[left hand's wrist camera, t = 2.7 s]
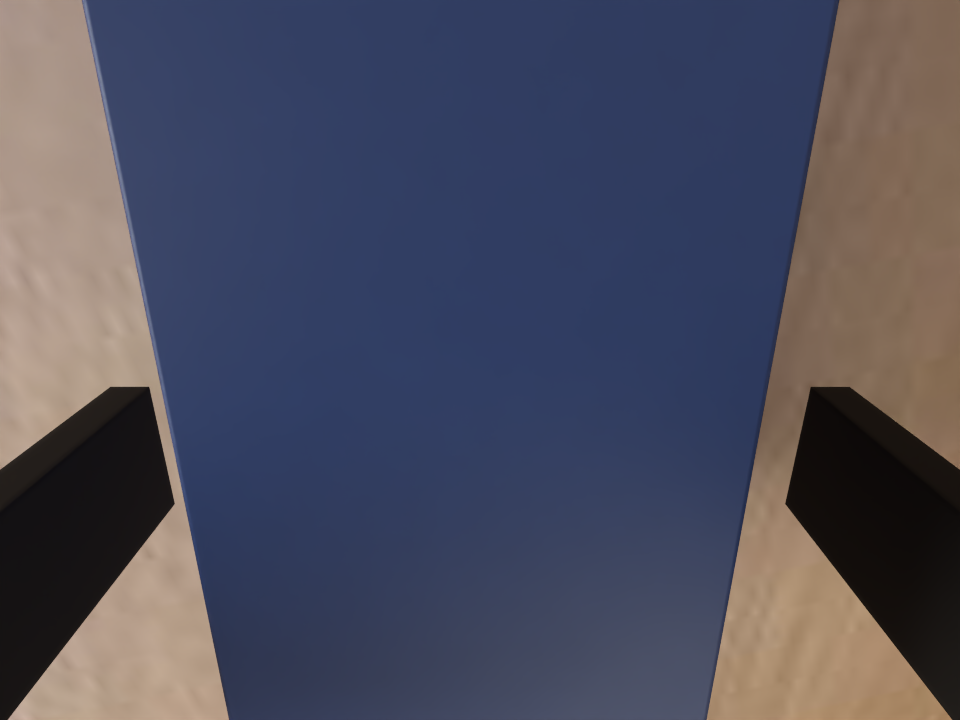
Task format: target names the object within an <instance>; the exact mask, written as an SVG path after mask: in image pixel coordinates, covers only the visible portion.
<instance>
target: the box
mask: <svg viewBox="0 0 960 720" xmlns="http://www.w3.org/2000/svg"><path fill="white" fill-rule="evenodd" d="M82 3H83V8H84V13H85V17H86V22H87V27H88V32H89V37H90V42H91V47H92V52H93V57H94V61H95V66H96V71H97V76H98V81H99V86H100V91H101V96H102V101H103V105H104V110H105V115H106V120H107V125H108V130H109V135H110V140H111V144H112V149H113V154H114V159H115V164H116V169H117V174H118V179H119V184H120V188H121V193H122V198H123V203H124V208H125V213H126V218H127V223H128V228H129V232H130V237H131V242H132V247H133V252H134V257H135V262H136V267H137V272H138V276H139V281H140V286H141V291H142V296H143V301H144V306H145V311H146V316H147V320H148V325H149V330H150V335H151V340H152V345H153V350H154V355H155V360H156V364H157V369H158V374H159V379H160V384H161V389H162V394H163V399H164V404H165V408H166V413H167V418H168V423H169V428H170V433H171V438H172V443H173V447H174V452H175V457H176V462H177V467H178V472H179V477H180V482H181V487H182V491H183V496H184V501H185V506H186V511H187V516H188V521H189V526H190V531H191V535H192V540H193V545H194V550H195V555H196V560H197V565H198V570H199V575H200V579H201V584H202V589H203V594H204V599H205V604H206V609H207V614H208V619H209V623H210V628H211V633H212V638H213V643H214V648H215V653H216V658H217V663H218V667H219V672H220V677H221V682H222V687H223V692H224V697H225V702H226V706H227V711H228V716H229V720H706V719H707V714H708V708H709V703H710V698H711V692H712V687H713V681H714V676H715V670H716V665H717V660H718V654H719V649H720V643H721V638H722V633H723V627H724V622H725V616H726V611H727V605H728V600H729V595H730V589H731V584H732V578H733V573H734V567H735V562H736V557H737V551H738V546H739V540H740V535H741V530H742V524H743V519H744V513H745V508H746V502H747V497H748V492H749V486H750V481H751V475H752V470H753V465H754V459H755V454H756V448H757V443H758V437H759V432H760V427H761V421H762V416H763V410H764V405H765V400H766V394H767V389H768V383H769V378H770V372H771V367H772V362H773V356H774V351H775V345H776V340H777V335H778V329H779V324H780V318H781V313H782V307H783V302H784V297H785V291H786V286H787V280H788V275H789V269H790V264H791V259H792V253H793V248H794V242H795V237H796V232H797V226H798V221H799V215H800V210H801V204H802V199H803V194H804V188H805V183H806V177H807V172H808V167H809V161H810V156H811V150H812V145H813V139H814V134H815V129H816V123H817V118H818V112H819V107H820V102H821V96H822V91H823V85H824V80H825V74H826V69H827V64H828V58H829V53H830V47H831V42H832V37H833V31H834V26H835V20H836V15H837V9H838V4H839V0H82Z"/></svg>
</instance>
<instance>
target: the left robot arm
mask: <svg viewBox="0 0 960 720" xmlns="http://www.w3.org/2000/svg"><path fill="white" fill-rule="evenodd" d="M174 504H175V503H174V499H173V494H172V489H171V485H170V480H169V476H168V471H167V467H166V462H165V457H164V453H163V448H162V444H161V439H160V434H159V430H158V425H157V421H156V416H155V412H154V407H153V402H152V398H151V393H150V389H149V387H110V388H109V389H107V390H106V391H105V392H103V393H102V394H101V395H99V396H98V397H97V398H95V399H94V400H93V401H91V402H90V403H89V404H87V405H86V406H85V407H83V408H82V409H81V410H79V411H78V412H77V413H75V414H74V415H73V416H71V417H70V418H69V419H67V420H66V421H65V422H63V423H62V424H61V425H59V426H58V427H57V428H55V429H54V430H53V431H51V432H50V433H49V434H47V435H46V436H45V437H43V438H42V439H41V440H39V441H38V442H37V443H35V444H34V445H33V446H31V447H30V448H29V449H27V450H26V451H25V452H23V453H22V454H21V455H19V456H18V457H17V458H15V459H14V460H13V461H11V462H10V463H9V464H7V465H6V466H5V467H3V468H2V469H1V470H0V720H8V719H9V717H10V716H11V715H12V713H13V712H14V711H15V709H16V708H17V707H18V706H19V704H20V703H21V702H22V700H23V699H24V698H25V697H26V695H27V694H28V693H29V691H30V690H31V689H32V688H33V686H34V685H35V684H36V682H37V681H38V680H39V678H40V677H41V676H42V675H43V673H44V672H45V671H46V669H47V668H48V667H49V666H50V664H51V663H52V662H53V660H54V659H55V658H56V657H57V655H58V654H59V653H60V651H61V650H62V649H63V647H64V646H65V645H66V644H67V642H68V641H69V640H70V638H71V637H72V636H73V635H74V633H75V632H76V631H77V629H78V628H79V627H80V626H81V624H82V623H83V622H84V620H85V619H86V618H87V616H88V615H89V614H90V613H91V611H92V610H93V609H94V607H95V606H96V605H97V604H98V602H99V601H100V600H101V598H102V597H103V596H104V595H105V593H106V592H107V591H108V589H109V588H110V587H111V585H112V584H113V583H114V582H115V580H116V579H117V578H118V576H119V575H120V574H121V573H122V571H123V570H124V569H125V567H126V566H127V565H128V564H129V562H130V561H131V560H132V558H133V557H134V556H135V554H136V553H137V552H138V551H139V549H140V548H141V547H142V545H143V544H144V543H145V542H146V540H147V539H148V538H149V536H150V535H151V534H152V533H153V531H154V530H155V529H156V527H157V526H158V525H159V523H160V522H161V521H162V520H163V518H164V517H165V516H166V514H167V513H168V512H169V511H170V509H171V508H172V507H173V505H174ZM785 504H786V505H787V507H788V508H789V509H790V511H791V512H792V513H793V514H794V516H795V517H796V518H797V520H798V521H799V522H800V523H801V525H802V526H803V527H804V529H805V530H806V531H807V533H808V534H809V535H810V536H811V538H812V539H813V540H814V542H815V543H816V544H817V545H818V547H819V548H820V549H821V551H822V552H823V553H824V554H825V556H826V557H827V558H828V560H829V561H830V562H831V564H832V565H833V566H834V567H835V569H836V570H837V571H838V573H839V574H840V575H841V576H842V578H843V579H844V580H845V582H846V583H847V584H848V585H849V587H850V588H851V589H852V591H853V592H854V593H855V595H856V596H857V597H858V598H859V600H860V601H861V602H862V604H863V605H864V606H865V607H866V609H867V610H868V611H869V613H870V614H871V615H872V616H873V618H874V619H875V620H876V622H877V623H878V624H879V626H880V627H881V628H882V629H883V631H884V632H885V633H886V635H887V636H888V637H889V638H890V640H891V641H892V642H893V644H894V645H895V646H896V647H897V649H898V650H899V651H900V653H901V654H902V655H903V657H904V658H905V659H906V660H907V662H908V663H909V664H910V666H911V667H912V668H913V669H914V671H915V672H916V673H917V675H918V676H919V677H920V678H921V680H922V681H923V682H924V684H925V685H926V686H927V688H928V689H929V690H930V691H931V693H932V694H933V695H934V697H935V698H936V699H937V700H938V702H939V703H940V704H941V706H942V707H943V708H944V709H945V711H946V712H947V713H948V715H949V716H950V717H951V719H952V720H960V470H959V469H958V468H957V467H955V466H954V465H953V464H951V463H950V462H949V461H947V460H946V459H945V458H943V457H942V456H941V455H939V454H938V453H937V452H935V451H934V450H933V449H931V448H930V447H929V446H927V445H926V444H925V443H923V442H922V441H921V440H919V439H918V438H917V437H915V436H914V435H913V434H911V433H910V432H909V431H907V430H906V429H905V428H903V427H902V426H901V425H899V424H898V423H897V422H895V421H894V420H893V419H891V418H890V417H889V416H887V415H886V414H885V413H883V412H882V411H881V410H879V409H878V408H877V407H875V406H874V405H873V404H871V403H870V402H869V401H867V400H866V399H865V398H863V397H862V396H861V395H859V394H858V393H857V392H855V391H854V390H853V389H851V388H850V387H811V389H810V393H809V398H808V402H807V407H806V412H805V416H804V421H803V425H802V430H801V434H800V439H799V444H798V448H797V453H796V457H795V462H794V467H793V471H792V476H791V480H790V485H789V489H788V494H787V499H786V503H785Z"/></svg>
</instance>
